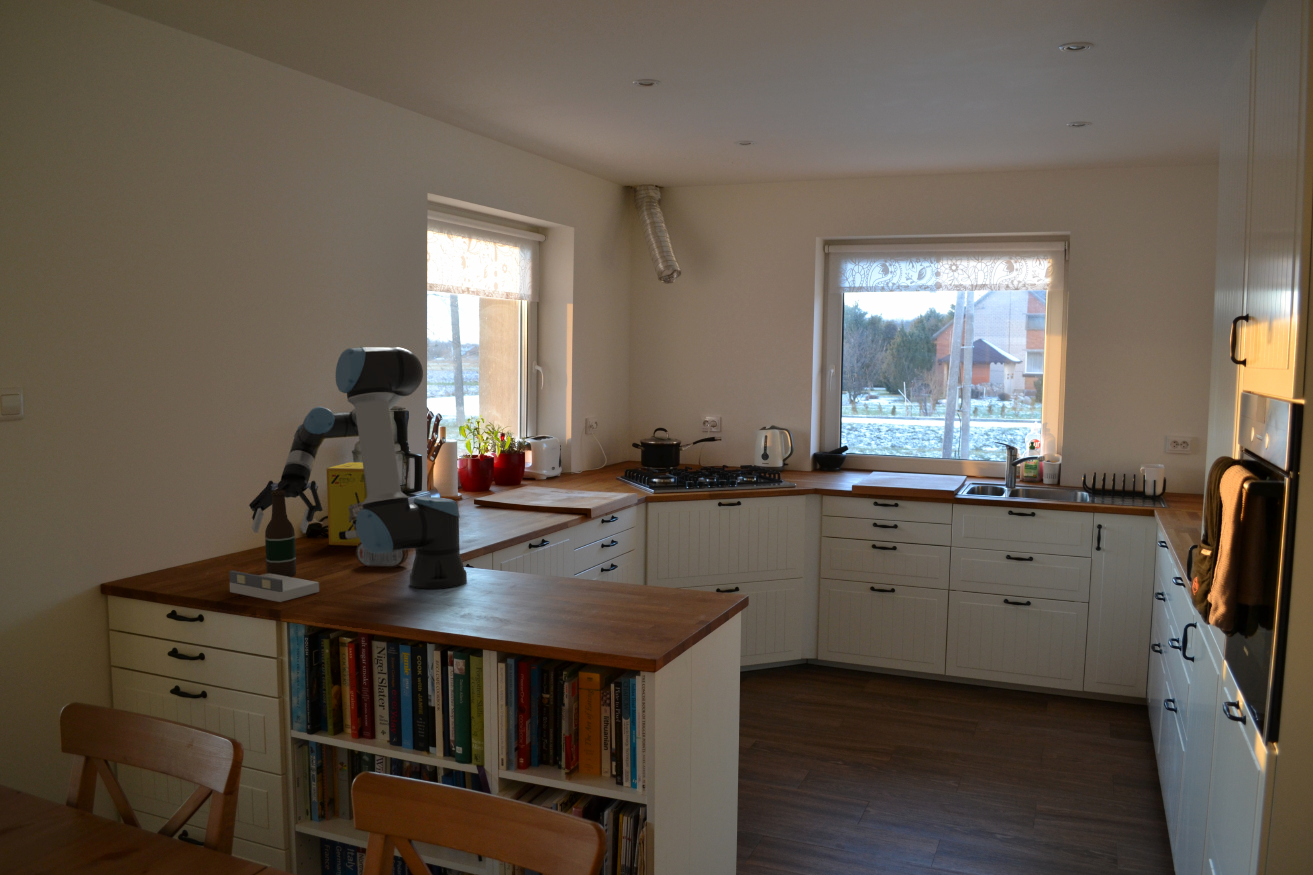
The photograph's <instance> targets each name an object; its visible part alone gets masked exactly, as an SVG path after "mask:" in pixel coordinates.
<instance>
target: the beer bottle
mask: <svg viewBox="0 0 1313 875" xmlns="http://www.w3.org/2000/svg"><path fill="white" fill-rule="evenodd" d="M285 494H286V493H285V491H284V490H276V489H275V490H274V491H272V493H271V495H272V505H271V517H270V521H269V522H268V524H267V525H266V529H265V531H264V533H265V534H264V540H265V542H264V543H265V566H266V574H268V573H270V574H276V575H281V576H287V577H293V576H295V575H297V554H296V534H295V528H294V526H293V523H292V522H291V521H290V519H289V518H288V514H287V506H286V498H285Z"/></svg>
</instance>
